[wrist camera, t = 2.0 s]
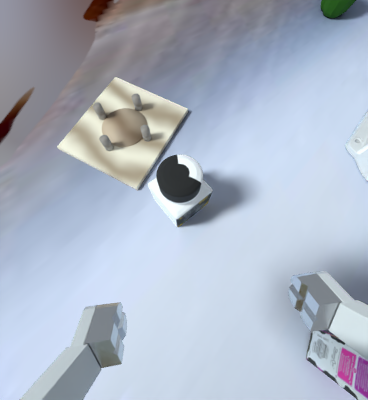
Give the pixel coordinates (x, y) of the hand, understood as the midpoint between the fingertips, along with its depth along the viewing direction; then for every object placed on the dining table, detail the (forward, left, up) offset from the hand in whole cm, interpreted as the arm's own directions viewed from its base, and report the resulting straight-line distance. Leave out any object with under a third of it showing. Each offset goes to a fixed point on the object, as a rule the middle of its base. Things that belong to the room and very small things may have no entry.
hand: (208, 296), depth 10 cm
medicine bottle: (-10, -7, -25) cm, 28 cm away
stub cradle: (-18, -24, -25) cm, 39 cm away
